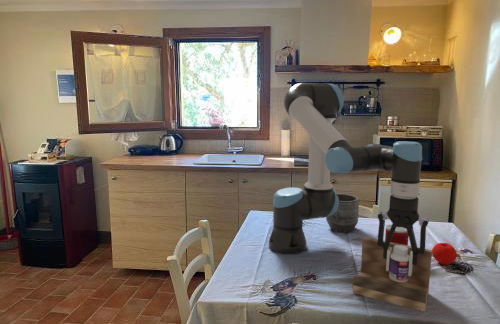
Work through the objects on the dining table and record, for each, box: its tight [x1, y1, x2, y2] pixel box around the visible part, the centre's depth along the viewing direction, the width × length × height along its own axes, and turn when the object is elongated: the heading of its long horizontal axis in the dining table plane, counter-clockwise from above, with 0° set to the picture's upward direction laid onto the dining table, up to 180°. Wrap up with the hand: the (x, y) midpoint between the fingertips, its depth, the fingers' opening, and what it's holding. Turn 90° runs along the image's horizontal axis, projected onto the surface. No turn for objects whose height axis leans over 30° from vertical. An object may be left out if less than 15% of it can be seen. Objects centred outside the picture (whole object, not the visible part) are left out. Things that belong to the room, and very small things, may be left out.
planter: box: [325, 193, 360, 233], centre depth 161 cm, size 14×14×15 cm
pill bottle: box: [389, 245, 409, 283], centre depth 104 cm, size 5×5×10 cm
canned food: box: [384, 224, 409, 246], centre depth 133 cm, size 8×8×11 cm
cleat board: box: [352, 236, 433, 312], centre depth 107 cm, size 20×11×14 cm, turn 59°
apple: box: [431, 242, 458, 266], centre depth 127 cm, size 8×8×7 cm
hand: (398, 271), depth 105 cm, fingers closed on pill bottle, 5 cm apart
